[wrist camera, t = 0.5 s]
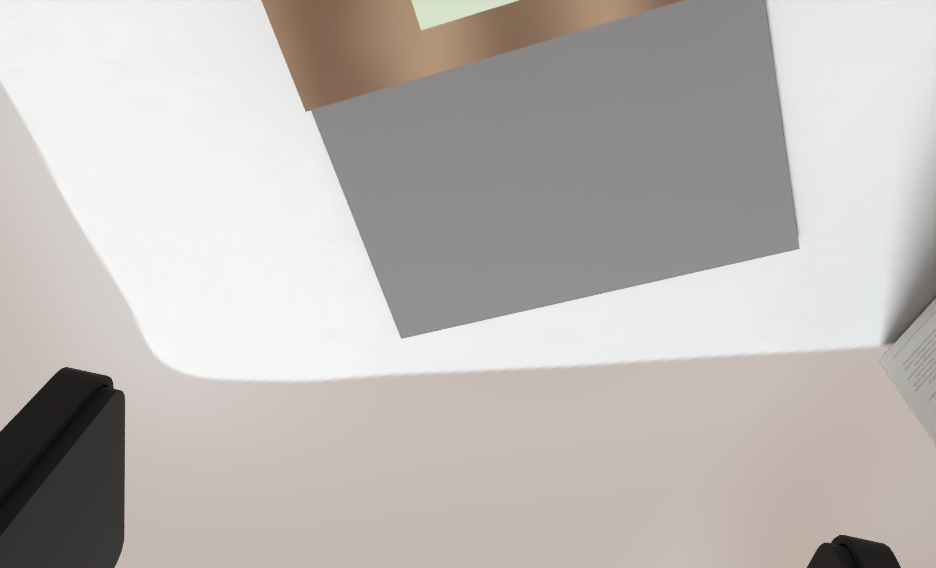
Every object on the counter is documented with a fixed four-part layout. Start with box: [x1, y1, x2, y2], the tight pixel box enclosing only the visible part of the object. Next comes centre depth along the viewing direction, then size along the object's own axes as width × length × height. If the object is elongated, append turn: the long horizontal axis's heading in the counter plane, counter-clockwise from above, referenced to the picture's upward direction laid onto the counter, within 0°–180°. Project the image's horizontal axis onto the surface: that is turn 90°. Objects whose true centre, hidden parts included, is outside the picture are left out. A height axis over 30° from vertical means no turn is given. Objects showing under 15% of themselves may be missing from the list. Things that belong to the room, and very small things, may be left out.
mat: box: [311, 0, 799, 339], centre depth 38 cm, size 20×13×1 cm, turn 107°
